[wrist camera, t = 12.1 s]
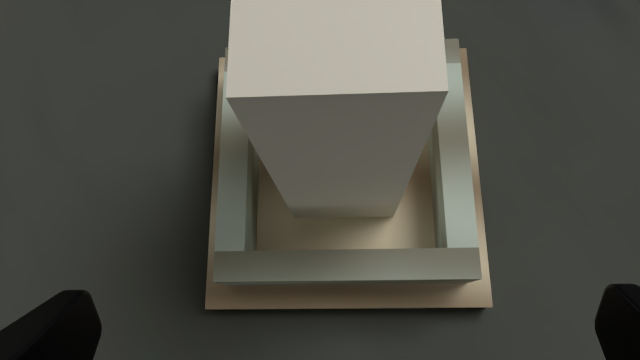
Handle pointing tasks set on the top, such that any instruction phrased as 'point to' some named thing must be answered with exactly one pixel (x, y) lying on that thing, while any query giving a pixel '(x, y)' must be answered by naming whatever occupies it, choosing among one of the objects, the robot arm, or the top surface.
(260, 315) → the top surface
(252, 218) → the jig
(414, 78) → the fuselage block
